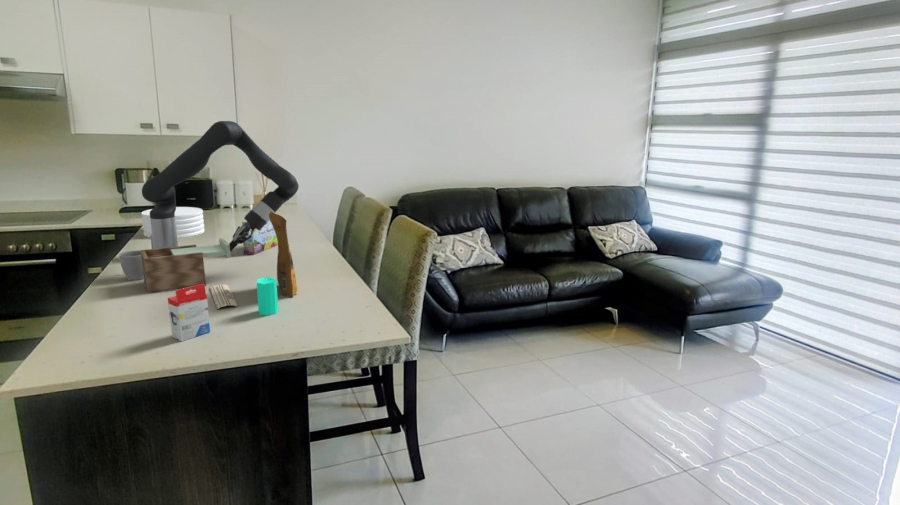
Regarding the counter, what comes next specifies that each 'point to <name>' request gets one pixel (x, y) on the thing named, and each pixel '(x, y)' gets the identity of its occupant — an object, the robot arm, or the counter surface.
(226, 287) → the newspaper
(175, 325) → the ink box
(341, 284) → the counter surface
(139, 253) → the mug
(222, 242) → the lid
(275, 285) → the candle
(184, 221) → the plate stack
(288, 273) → the pancake mix bag
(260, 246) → the snack box
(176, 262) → the box
